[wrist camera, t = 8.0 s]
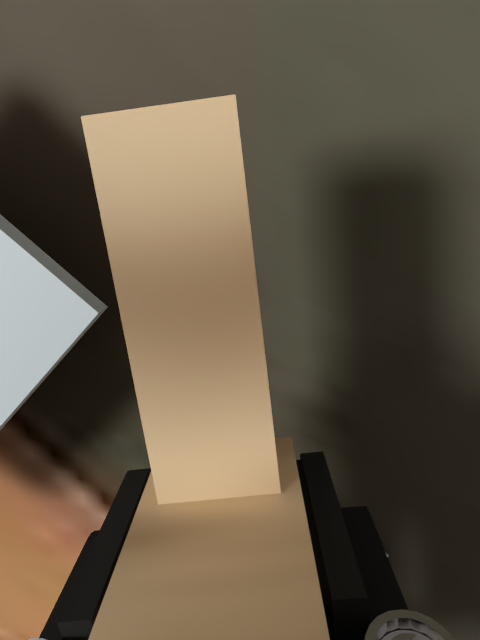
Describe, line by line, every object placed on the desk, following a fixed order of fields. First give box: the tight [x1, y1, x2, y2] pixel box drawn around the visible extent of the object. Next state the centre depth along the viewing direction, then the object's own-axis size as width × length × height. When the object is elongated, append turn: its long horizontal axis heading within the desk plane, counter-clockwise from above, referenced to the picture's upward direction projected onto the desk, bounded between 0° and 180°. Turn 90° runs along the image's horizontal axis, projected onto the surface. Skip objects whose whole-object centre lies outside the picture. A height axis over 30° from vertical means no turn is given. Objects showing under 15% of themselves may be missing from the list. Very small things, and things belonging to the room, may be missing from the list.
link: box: [81, 95, 330, 640], centre depth 8 cm, size 18×6×5 cm, turn 7°
